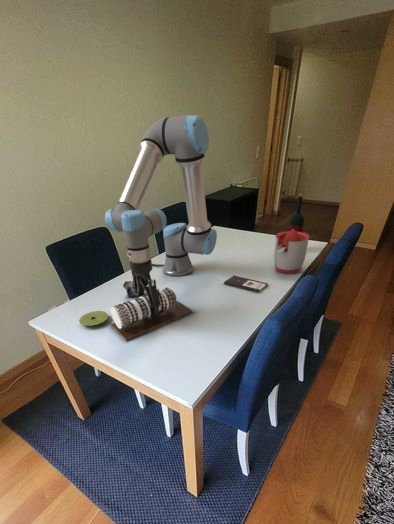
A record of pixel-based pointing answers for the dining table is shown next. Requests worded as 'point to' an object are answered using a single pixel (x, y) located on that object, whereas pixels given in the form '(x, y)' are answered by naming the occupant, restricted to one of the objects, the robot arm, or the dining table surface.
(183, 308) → the walnut board
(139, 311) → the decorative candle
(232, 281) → the chocolate bar
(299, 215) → the wine bottle
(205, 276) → the dining table surface
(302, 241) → the citrus juicer
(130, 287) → the foil
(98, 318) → the mat
